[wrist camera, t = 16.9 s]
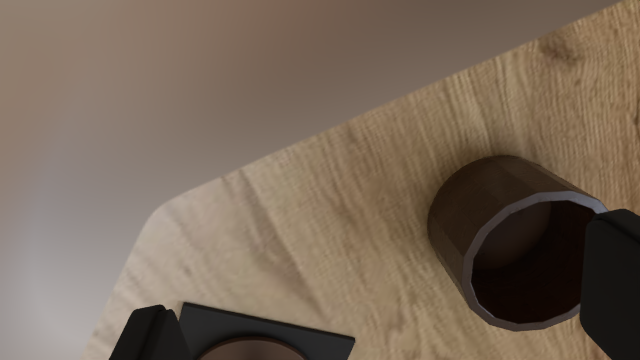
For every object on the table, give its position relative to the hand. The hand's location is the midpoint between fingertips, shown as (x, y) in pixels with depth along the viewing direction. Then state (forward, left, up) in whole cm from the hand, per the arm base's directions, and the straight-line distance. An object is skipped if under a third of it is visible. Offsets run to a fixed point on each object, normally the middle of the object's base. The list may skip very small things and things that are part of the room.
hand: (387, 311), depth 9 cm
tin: (+20, -6, -28) cm, 35 cm away
